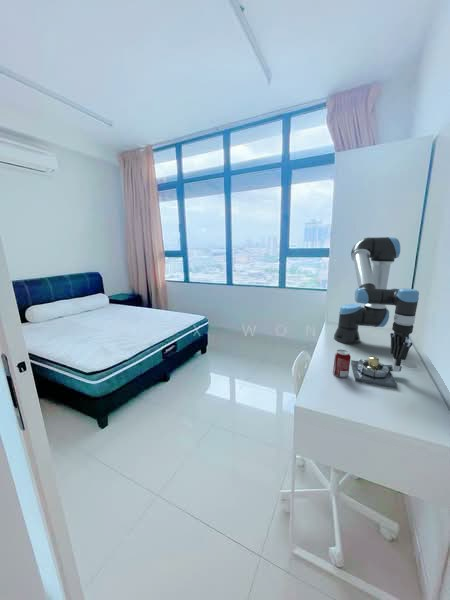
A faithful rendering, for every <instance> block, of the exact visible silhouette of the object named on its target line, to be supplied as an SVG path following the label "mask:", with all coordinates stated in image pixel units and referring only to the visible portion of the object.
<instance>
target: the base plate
mask: <svg viewBox="0 0 450 600" xmlns="http://www.w3.org/2000/svg"><path fill="white" fill-rule="evenodd" d="M368 360H369V362H368V366H370V367H372V370H380V369H378V362H380V358H379V357H377V356H374V355H369V356H368ZM358 362H359V360H352V359H350V366H351V369H352V373H353V378H354V380H355V381H354V382H356V383H363V384H367V385H373V386H379V387H386V388H388V389H389V388H390V389H397V387H398V383H397V382H396V380H395V378H394V376H393V375H392V371H388V374H387V375H386V377H374V376H370V375H367V374H364V373H362V372H361V371H360V370H359V369H358V368H357V365H358ZM368 366H365V367H366V368H367V367H368Z"/></svg>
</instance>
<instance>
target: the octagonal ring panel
mask: <svg viewBox="0 0 450 600" xmlns="http://www.w3.org/2000/svg"><path fill="white" fill-rule="evenodd" d="M358 361H359V362H358V365H357V368H358V369H359V370H360V371H361V372H362V373H364V374H367V375H370V376H374V377H386V375H387V374H388V371H390V372H393V371H392V364H384V363H382V362H380V361H379V362H378V369H380V370H372V367H370V366H368V362H369V359H362V358H360V359H359V360H358ZM365 366H368V367H367V368H366V367H365ZM402 368H403V367H402V366H401V365H400V370H399V372H401V371H402Z"/></svg>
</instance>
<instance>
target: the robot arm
mask: <svg viewBox="0 0 450 600" xmlns="http://www.w3.org/2000/svg"><path fill="white" fill-rule="evenodd" d="M400 254H401V243H400V241H399V239H398V238H397V237H389V236H387V237H386V236H385V237H381V236H380V237H379V236H378V237H364V238H361V239H360V240H358V241H357V242H356V243H355V244H354V245H353V247H352V249H351V252H350V255H351V260H352V261H353V263H354V269H355V275H356V280H357V281H356V282H357V286H358V287H357V288H356V289H355V291H354V300H355V302H356V303H346V304H343V305H341V306H340V308H339V312H338V313H339V316H338V323H337V324H338V326H337V329H336V330H335V333H334V335H333V339H334V340H335V341H337V342H340V343H342V344H348V345H356V344H357V345H358V344H359V343H360V340H361V336H360V331H359V327H360V326H363V327H371V328H372V327H373V328H383V327H385V326H386V325H387V324H388V322H389V319H390V310H389V309H388V307H387V306H395V307H394V308H395V309H394V315H393V322H392V329H391V330H392V331H393V333H392V332H391V333H390V355H392V358H393V359H392V363H391V365H392V371H391V372H396V373H398V372H400V371H399V370H400V366H401V365H402V361H405V360H406V359H407V356H408V353H409V351H410V349H411V347H412V346H413V343H412V342H410V335H411V334H413V331H414V324H415V321H416V313H417V309H418V303H419V300H420V298H419V295H420V292H419V290H417V289H413V288H391V289H388V282H389V276H390V269H391V264H393V263H394V262H395V259H398V258H399V257H400ZM371 262H372V264H373V265H371ZM361 304H364V306H361Z"/></svg>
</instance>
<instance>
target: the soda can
mask: <svg viewBox="0 0 450 600" xmlns="http://www.w3.org/2000/svg"><path fill="white" fill-rule="evenodd" d="M350 366H351V355H350V352H349V351H348V350H346V349H341V348H340V349H336V352H335V353H334V358H333V366H332V374H333V375H335V376H336V377H338V378H347V377H348V376H349V374H350V373H349V371H350Z"/></svg>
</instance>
